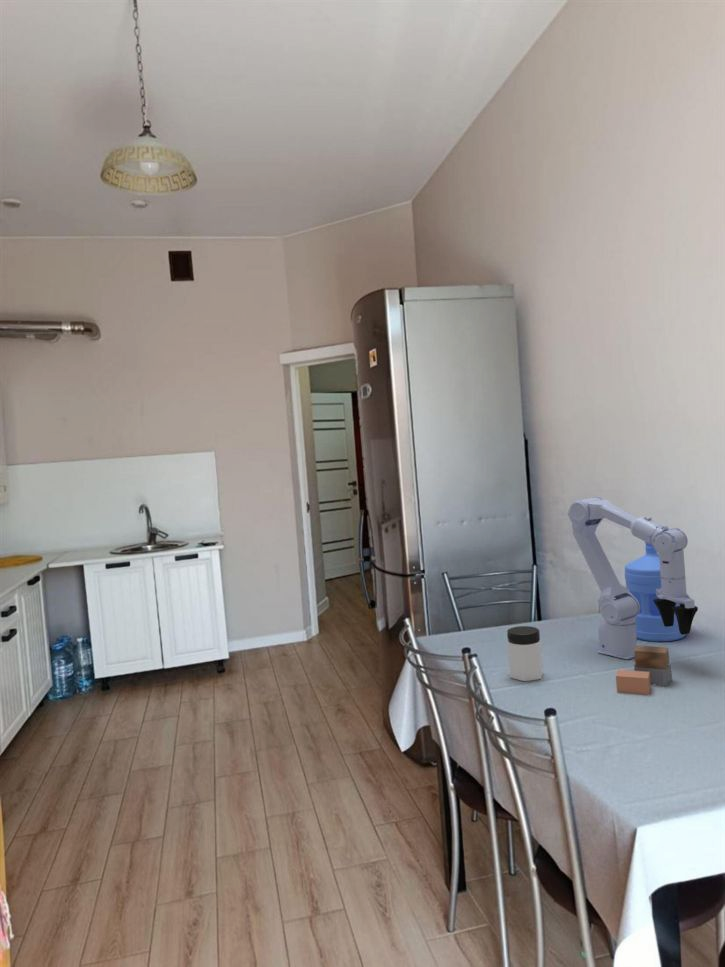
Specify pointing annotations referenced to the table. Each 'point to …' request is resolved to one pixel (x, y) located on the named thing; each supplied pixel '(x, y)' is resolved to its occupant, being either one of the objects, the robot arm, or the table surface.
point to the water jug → (649, 598)
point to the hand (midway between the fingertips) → (676, 629)
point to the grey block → (657, 675)
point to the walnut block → (651, 657)
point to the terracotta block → (633, 681)
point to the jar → (525, 653)
